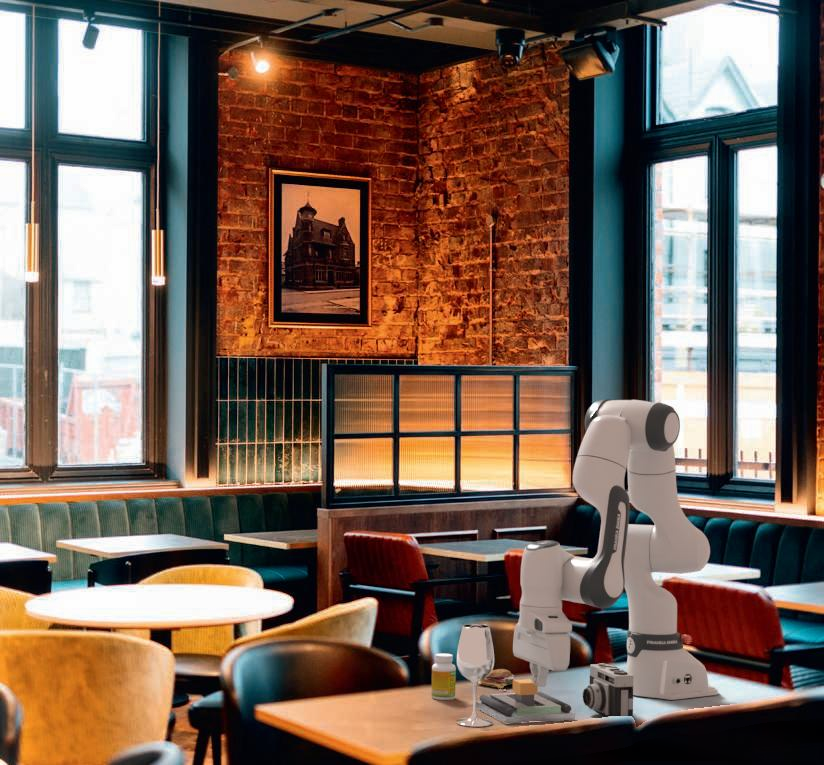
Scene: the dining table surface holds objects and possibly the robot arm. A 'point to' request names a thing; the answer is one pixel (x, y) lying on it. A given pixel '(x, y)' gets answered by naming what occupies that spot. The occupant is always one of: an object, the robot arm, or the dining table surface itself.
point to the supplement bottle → (443, 677)
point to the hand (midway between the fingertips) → (539, 685)
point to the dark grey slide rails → (509, 711)
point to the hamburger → (498, 678)
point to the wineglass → (475, 664)
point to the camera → (609, 691)
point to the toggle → (525, 691)
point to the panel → (525, 709)
